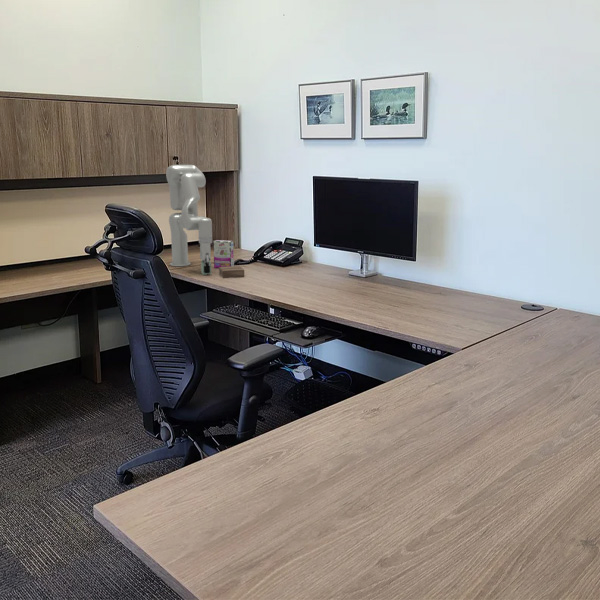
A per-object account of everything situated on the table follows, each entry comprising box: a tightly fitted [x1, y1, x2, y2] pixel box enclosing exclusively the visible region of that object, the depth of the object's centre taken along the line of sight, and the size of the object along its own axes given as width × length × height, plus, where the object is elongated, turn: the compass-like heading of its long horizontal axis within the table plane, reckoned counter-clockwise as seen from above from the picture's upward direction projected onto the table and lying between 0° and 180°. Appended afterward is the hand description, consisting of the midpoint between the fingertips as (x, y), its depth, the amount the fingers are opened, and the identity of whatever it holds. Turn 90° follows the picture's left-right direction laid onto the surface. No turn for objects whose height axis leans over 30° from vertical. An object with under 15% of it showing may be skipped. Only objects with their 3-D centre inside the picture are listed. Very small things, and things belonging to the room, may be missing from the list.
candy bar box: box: [212, 239, 235, 269], centre depth 371 cm, size 11×5×16 cm, turn 73°
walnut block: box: [218, 265, 245, 279], centre depth 352 cm, size 12×12×4 cm
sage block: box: [200, 260, 212, 276], centre depth 355 cm, size 5×5×7 cm
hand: (206, 271), depth 355 cm, fingers closed on sage block, 5 cm apart
